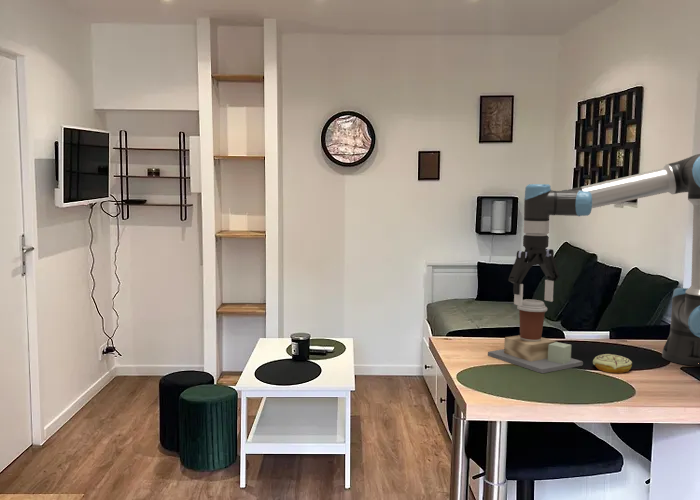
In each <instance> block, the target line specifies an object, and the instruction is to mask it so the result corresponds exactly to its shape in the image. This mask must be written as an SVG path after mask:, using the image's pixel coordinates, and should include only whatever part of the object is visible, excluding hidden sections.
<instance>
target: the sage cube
mask: <svg viewBox="0 0 700 500" xmlns="http://www.w3.org/2000/svg"><path fill="white" fill-rule="evenodd" d="M571 358H572V344H570V343H569V344H568V343H563V342H558V341H556V342H554V343H551V344H549V345H548V361H551V362H556V363H561V364H565V363H567V362H569V361H571Z"/></svg>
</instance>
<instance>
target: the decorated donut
mask: <svg viewBox="0 0 700 500" xmlns="http://www.w3.org/2000/svg"><path fill="white" fill-rule="evenodd" d="M592 364H593V365H594V367H596V369H597V370H599V371H601V372H604V373H612V374H623V373H628V372H629V371H630V370H631V368H632V367H633V361H632V360H631V359H629V358H627V357H625V356H622V355H617V354H611V353H605V354H604V353H603V354H599V355H597V356H595V357H594V358H593V360H592Z"/></svg>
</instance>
